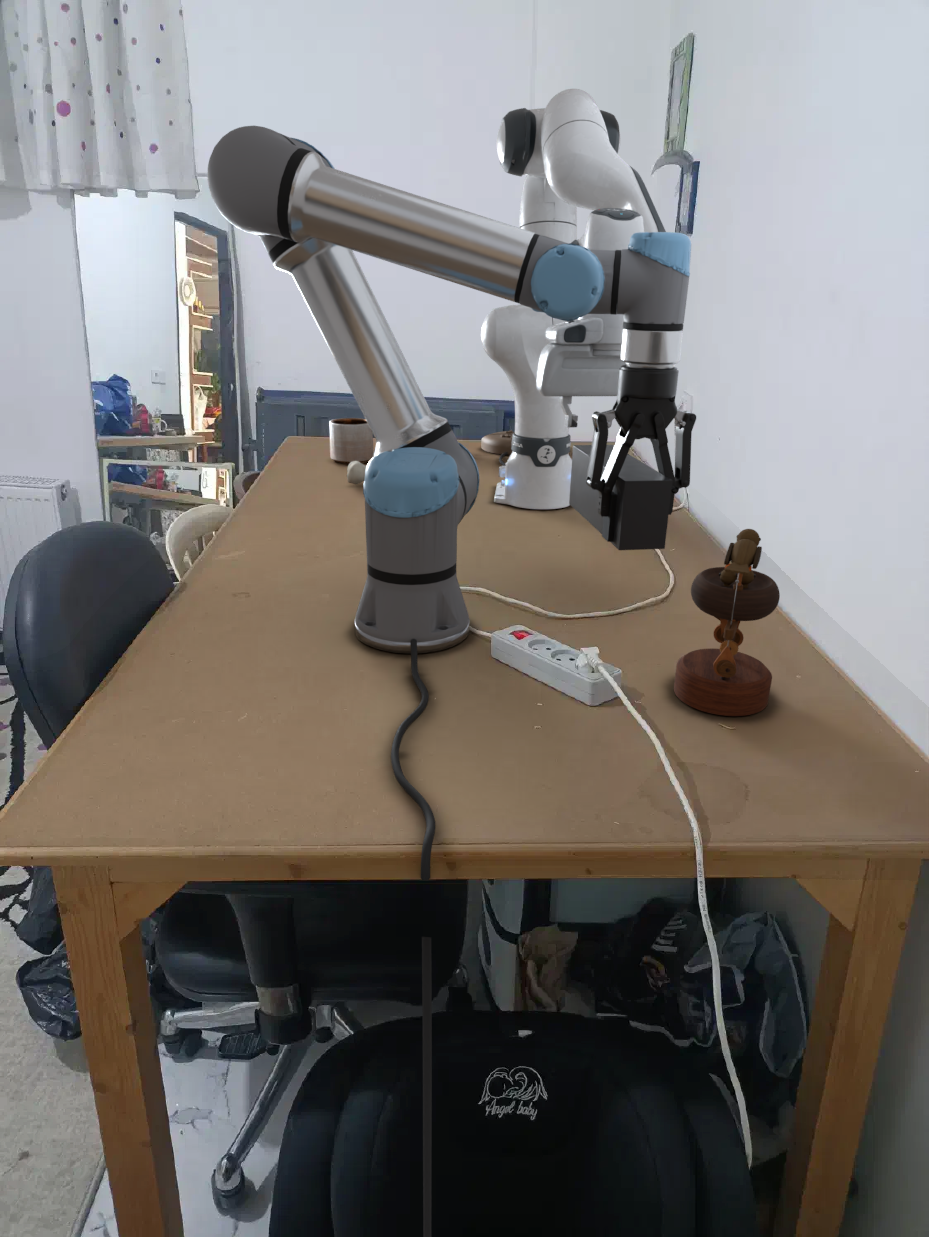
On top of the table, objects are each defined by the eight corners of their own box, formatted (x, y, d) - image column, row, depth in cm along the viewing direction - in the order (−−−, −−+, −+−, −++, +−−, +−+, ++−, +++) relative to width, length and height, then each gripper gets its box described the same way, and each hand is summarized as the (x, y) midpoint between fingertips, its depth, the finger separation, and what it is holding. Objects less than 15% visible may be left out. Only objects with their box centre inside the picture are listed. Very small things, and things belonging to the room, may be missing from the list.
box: (664, 548, 114) (672, 480, 110) (618, 550, 113) (625, 481, 109) (607, 503, 136) (612, 444, 133) (569, 504, 135) (572, 445, 132)
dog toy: (434, 479, 195) (434, 457, 194) (437, 485, 190) (437, 463, 188) (346, 480, 192) (345, 459, 190) (347, 487, 187) (346, 464, 185)
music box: (786, 726, 90) (801, 547, 83) (681, 727, 92) (686, 551, 84) (757, 665, 104) (767, 507, 97) (666, 666, 106) (669, 511, 98)
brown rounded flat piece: (486, 464, 211) (486, 447, 210) (479, 443, 237) (479, 428, 235) (569, 465, 212) (571, 448, 211) (554, 443, 238) (554, 428, 236)
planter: (327, 456, 217) (325, 418, 214) (369, 454, 220) (368, 417, 217) (334, 465, 208) (332, 425, 204) (377, 463, 211) (376, 424, 207)
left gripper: (708, 362, 113) (688, 528, 122) (567, 361, 110) (557, 532, 119) (733, 368, 106) (710, 543, 115) (584, 368, 103) (571, 548, 112)
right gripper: (667, 330, 128) (658, 423, 133) (535, 329, 125) (531, 424, 129) (684, 332, 122) (674, 429, 127) (546, 330, 119) (541, 430, 124)
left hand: (632, 537), depth 117 cm, fingers closed on box, 6 cm apart
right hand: (601, 426), depth 128 cm, fingers open, 8 cm apart
